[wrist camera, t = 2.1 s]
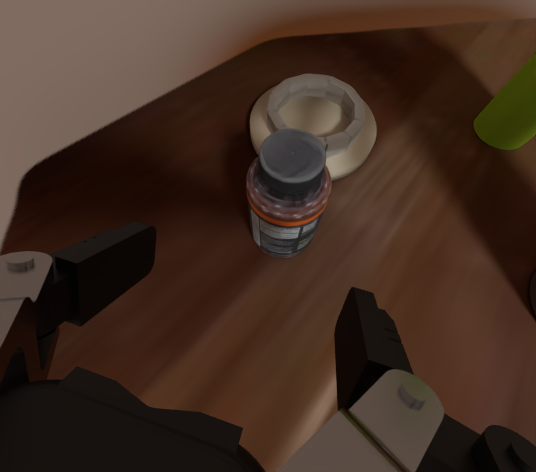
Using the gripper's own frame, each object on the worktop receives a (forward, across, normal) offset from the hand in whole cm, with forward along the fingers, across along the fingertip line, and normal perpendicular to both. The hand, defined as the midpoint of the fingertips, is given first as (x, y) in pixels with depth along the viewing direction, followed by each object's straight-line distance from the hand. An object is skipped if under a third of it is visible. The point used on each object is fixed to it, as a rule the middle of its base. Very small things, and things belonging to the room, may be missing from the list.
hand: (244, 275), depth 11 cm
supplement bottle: (+15, 0, +4) cm, 16 cm away
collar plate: (+24, 0, -6) cm, 25 cm away
